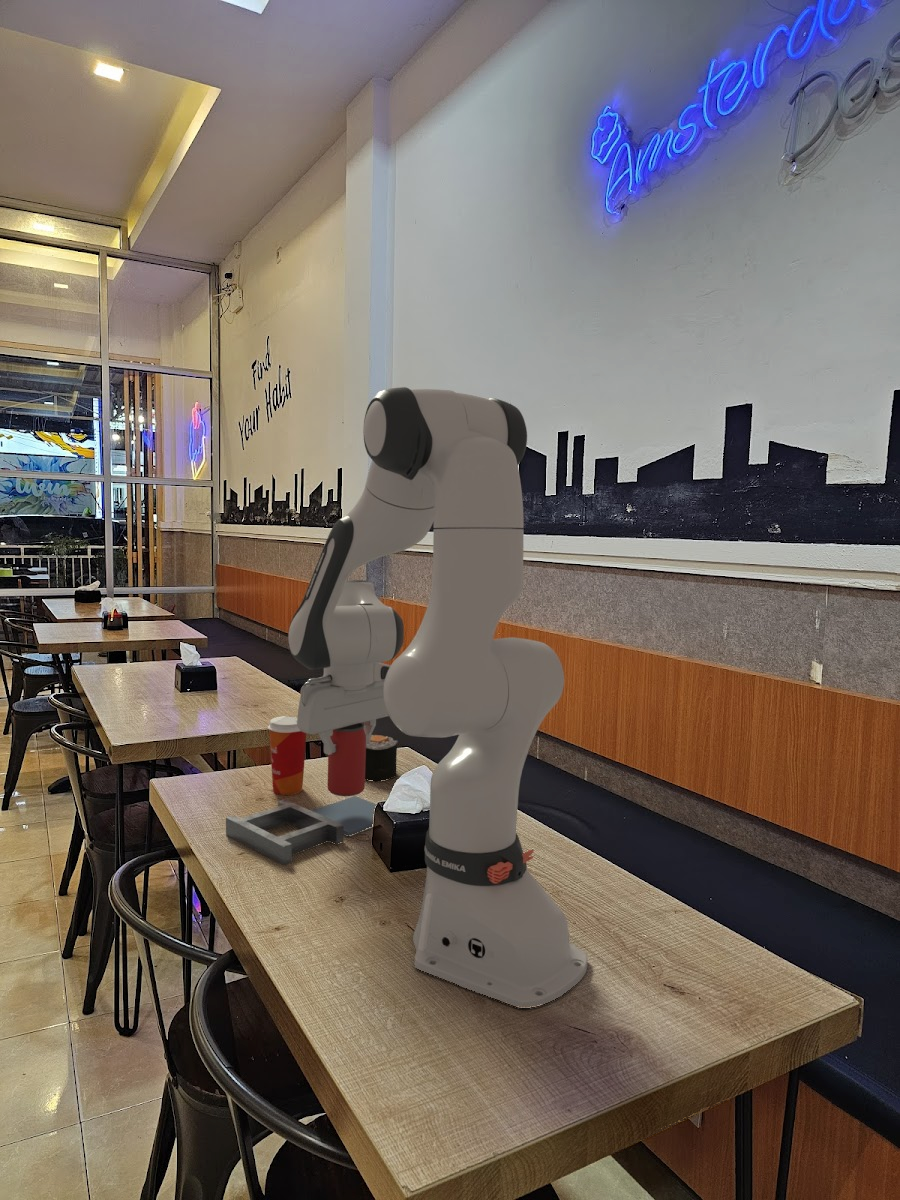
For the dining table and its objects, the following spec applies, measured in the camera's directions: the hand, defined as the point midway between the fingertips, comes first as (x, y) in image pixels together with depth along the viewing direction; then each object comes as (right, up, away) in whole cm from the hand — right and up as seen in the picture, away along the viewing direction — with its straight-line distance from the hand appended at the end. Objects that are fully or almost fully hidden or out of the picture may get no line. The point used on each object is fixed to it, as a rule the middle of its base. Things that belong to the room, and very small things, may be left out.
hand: (347, 748), depth 137 cm
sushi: (+3, -11, +25) cm, 27 cm away
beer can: (0, -8, +1) cm, 8 cm away
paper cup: (-14, -11, +15) cm, 23 cm away
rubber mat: (+1, -13, +2) cm, 13 cm away
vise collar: (-10, -14, -8) cm, 18 cm away
